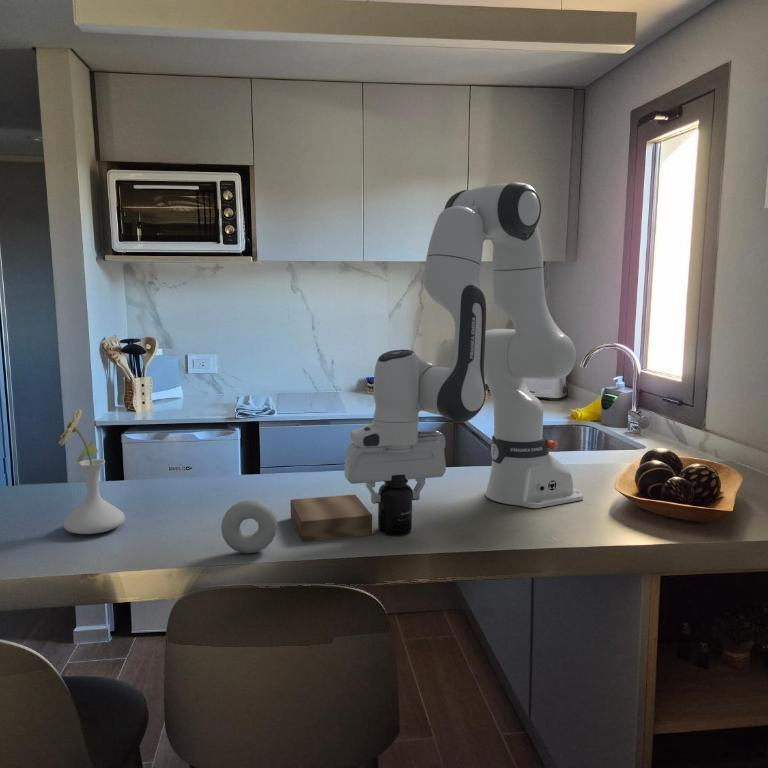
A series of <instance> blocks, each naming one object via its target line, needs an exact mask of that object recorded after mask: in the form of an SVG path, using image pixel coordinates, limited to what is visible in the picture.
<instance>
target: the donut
mask: <svg viewBox="0 0 768 768" xmlns="http://www.w3.org/2000/svg"><path fill="white" fill-rule="evenodd" d="M249 519H250V520H254V521H255V522H256V523H257V525H258V529H257V531H255V532H254V533H253V534H246V533H244V532H243V531H242V530H241V524H242V523H243V522H244V521H245V520H249ZM277 529H278V523H277V517H276V515H275V514H274V511H273V510H272V508H270V507H269V506H268V505H267V504H266V503H264V502H262V501H259V500H253V499H247V500H242V501H239V502H237V503H236V504H233V505H232V506H231V507H230V508H228V510H227V511H226V512H225V514H224V516H223V518H222V520H221V526H220V530H221V535H222V538H223V540H224V541H225V543H226V545H227V546H228V547H230V549H232V550H234V551H236V552H237V553H240V554H249V555H250V553H251V554H255V553H260V552H261V551H263V550H264V549H266V548H267V547H268V546H269V545H270V544H271V543H272V542H273V541H274V539H275V536H276V534H277Z"/></svg>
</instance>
